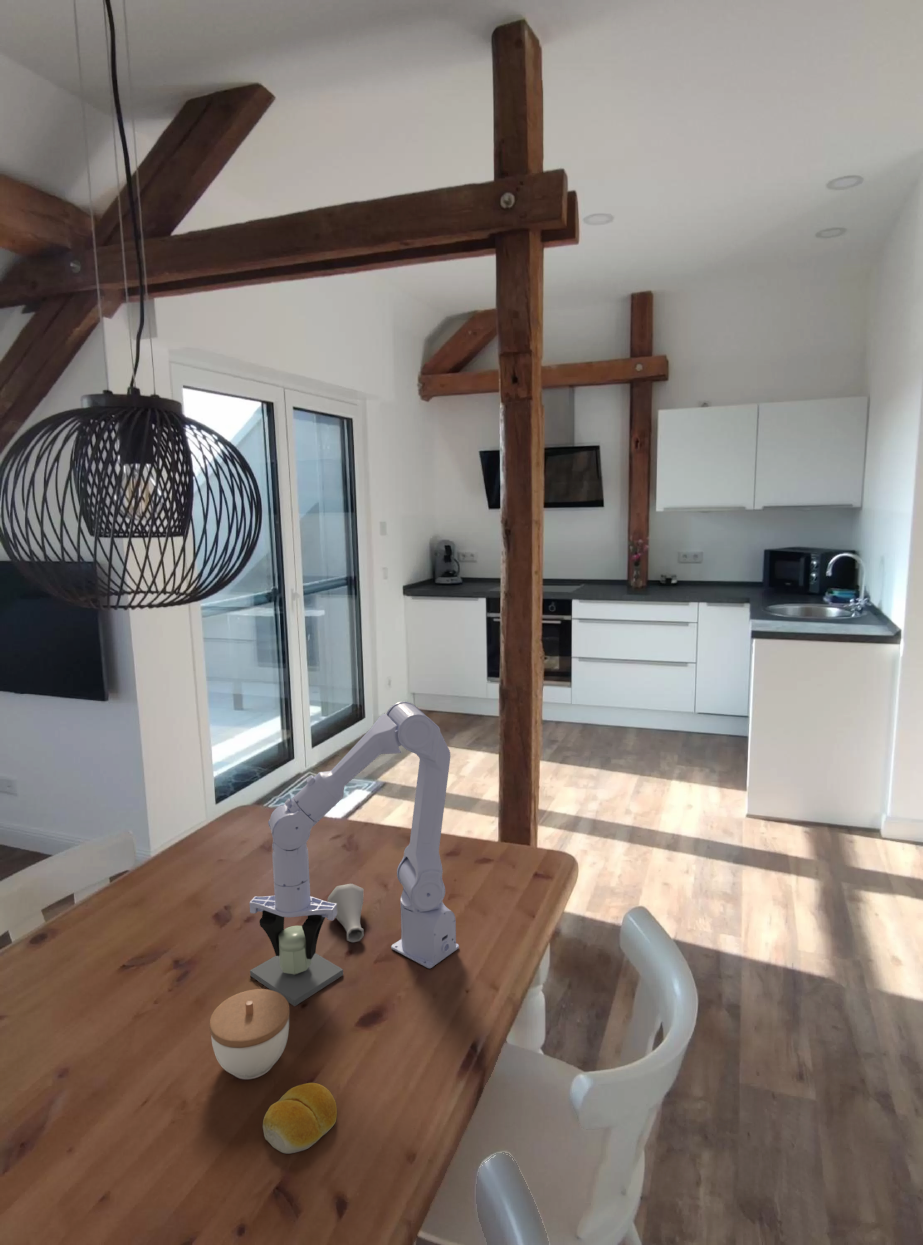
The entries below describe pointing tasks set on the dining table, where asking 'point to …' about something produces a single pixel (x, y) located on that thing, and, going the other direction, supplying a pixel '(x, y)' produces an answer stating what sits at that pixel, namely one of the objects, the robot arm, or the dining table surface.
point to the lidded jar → (250, 1032)
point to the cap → (293, 950)
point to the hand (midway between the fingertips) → (295, 954)
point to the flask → (349, 909)
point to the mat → (296, 978)
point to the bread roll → (300, 1118)
